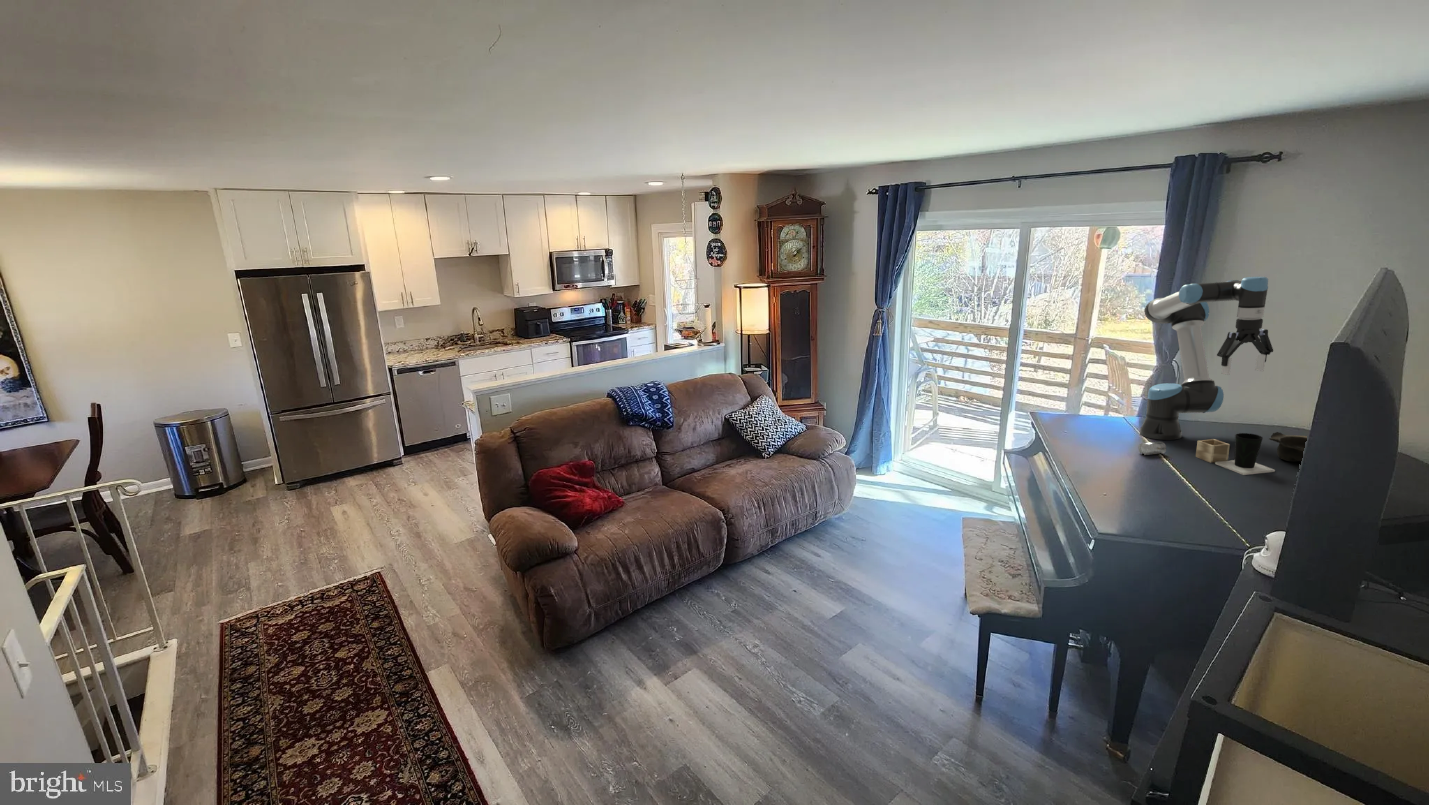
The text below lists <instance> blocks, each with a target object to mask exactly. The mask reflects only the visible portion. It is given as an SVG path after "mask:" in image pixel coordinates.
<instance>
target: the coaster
mask: <svg viewBox="0 0 1429 805" xmlns="http://www.w3.org/2000/svg"><path fill="white" fill-rule="evenodd" d="M1214 464H1215V465H1217V466H1219V467H1222V468H1224V469H1226V470H1230V471H1233V472H1235V473H1237V474H1240V475H1242V476H1246V475H1255V474H1265V473H1267V474H1268V473H1275V471H1276V470H1275V469H1273V468H1272V467H1268V466H1267V465H1263V464H1260V463H1257V462H1255V466H1254V468H1241V467H1238V466H1236V465H1235V459H1234V460H1233V459H1232V460H1228V461H1221V462H1214Z"/></svg>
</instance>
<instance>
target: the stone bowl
mask: <svg viewBox="0 0 1429 805" xmlns="http://www.w3.org/2000/svg"><path fill="white" fill-rule="evenodd" d="M1268 440H1270V441H1273V442H1275V443H1278V446H1277V448H1276V452H1277V453H1276V455H1277V457H1278V458H1279V459H1281V460H1283V461H1287V462H1303V461H1302V458H1303V451H1304V448H1305V442H1306V441H1307V435H1295V434H1287V435H1286V434H1284V433H1282V432H1278V431H1276V432H1273V433H1272V434H1271V436H1270V437H1268Z"/></svg>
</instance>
